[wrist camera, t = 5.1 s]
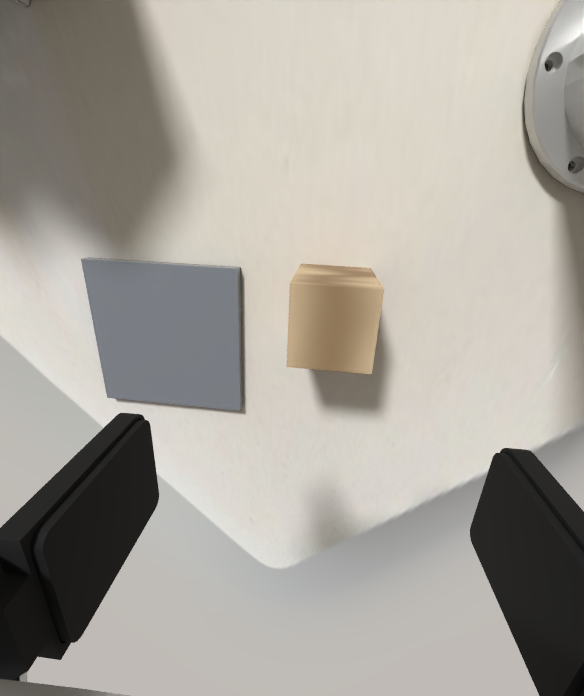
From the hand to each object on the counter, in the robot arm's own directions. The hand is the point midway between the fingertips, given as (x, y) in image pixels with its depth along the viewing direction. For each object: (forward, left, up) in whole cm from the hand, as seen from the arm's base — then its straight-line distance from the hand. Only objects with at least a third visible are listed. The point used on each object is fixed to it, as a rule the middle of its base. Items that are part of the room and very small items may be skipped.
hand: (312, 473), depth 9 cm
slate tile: (+13, +4, -18) cm, 22 cm away
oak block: (0, 0, -18) cm, 18 cm away
